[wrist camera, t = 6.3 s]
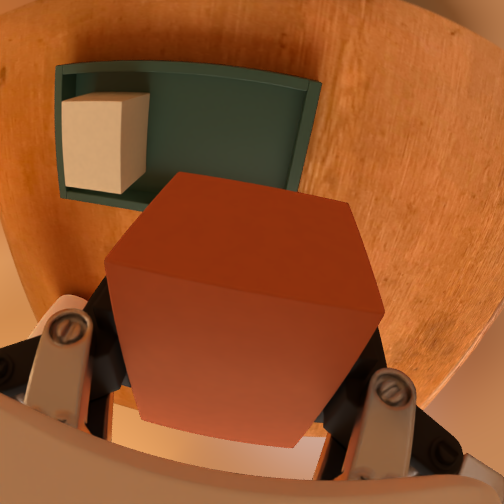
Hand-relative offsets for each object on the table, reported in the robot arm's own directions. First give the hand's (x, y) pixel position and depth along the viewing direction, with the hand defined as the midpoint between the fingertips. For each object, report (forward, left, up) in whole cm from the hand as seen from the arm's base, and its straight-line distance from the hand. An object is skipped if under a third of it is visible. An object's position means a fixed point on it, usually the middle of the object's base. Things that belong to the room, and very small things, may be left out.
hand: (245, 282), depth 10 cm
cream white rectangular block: (+9, -8, -15) cm, 19 cm away
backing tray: (+5, -5, -15) cm, 17 cm away
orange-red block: (0, 0, 0) cm, 0 cm away
